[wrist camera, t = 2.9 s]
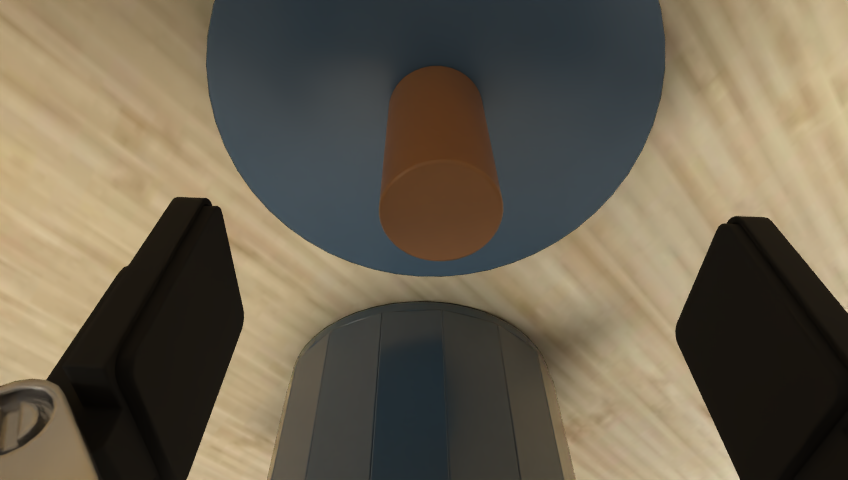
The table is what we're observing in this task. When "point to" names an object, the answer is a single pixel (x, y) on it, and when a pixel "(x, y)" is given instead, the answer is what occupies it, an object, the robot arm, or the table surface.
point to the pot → (421, 401)
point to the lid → (434, 120)
